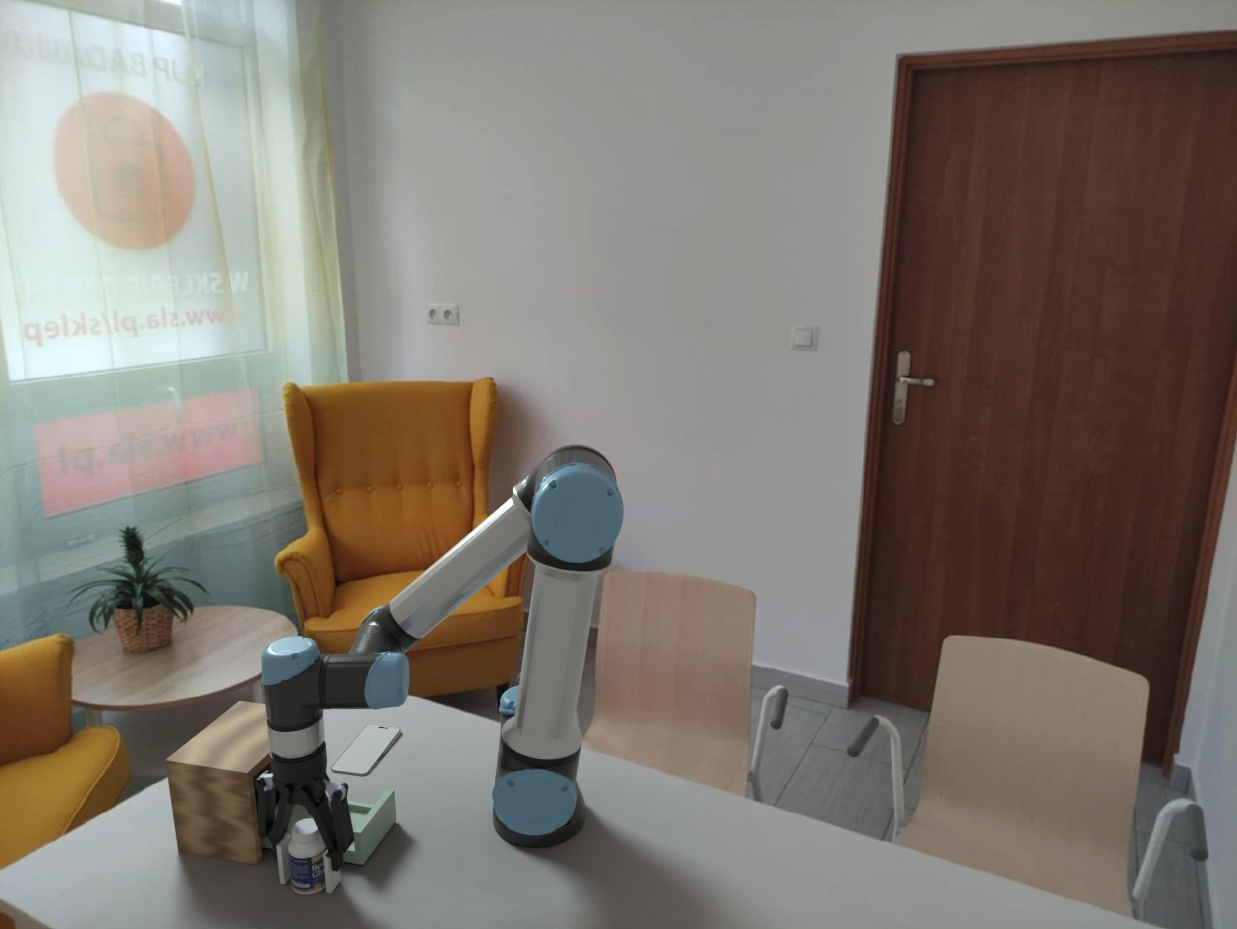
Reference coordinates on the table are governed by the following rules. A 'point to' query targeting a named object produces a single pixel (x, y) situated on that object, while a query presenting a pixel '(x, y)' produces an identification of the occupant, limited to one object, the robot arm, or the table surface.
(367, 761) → the smartphone
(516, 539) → the robot arm
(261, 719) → the wooden drawer cabinet
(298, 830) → the pill bottle
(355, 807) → the tray
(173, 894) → the table surface
